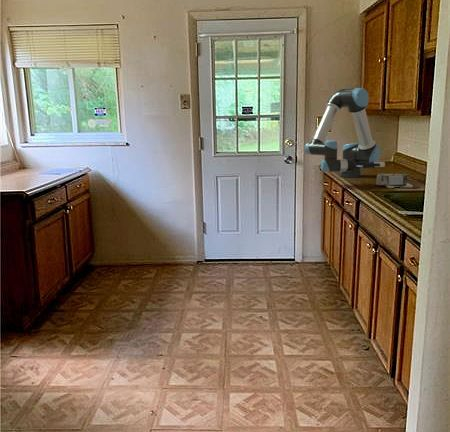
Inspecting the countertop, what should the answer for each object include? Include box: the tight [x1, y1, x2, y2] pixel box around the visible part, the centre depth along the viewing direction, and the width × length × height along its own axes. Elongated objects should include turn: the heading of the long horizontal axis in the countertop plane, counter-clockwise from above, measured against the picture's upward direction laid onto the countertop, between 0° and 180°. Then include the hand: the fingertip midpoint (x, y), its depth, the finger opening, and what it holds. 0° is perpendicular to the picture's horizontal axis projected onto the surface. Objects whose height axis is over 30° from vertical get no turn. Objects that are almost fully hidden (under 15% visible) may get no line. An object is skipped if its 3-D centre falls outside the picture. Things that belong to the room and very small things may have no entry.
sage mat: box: [383, 182, 414, 189], centre depth 285 cm, size 19×14×1 cm
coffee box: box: [375, 172, 408, 188], centre depth 279 cm, size 9×6×16 cm
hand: (384, 164), depth 282 cm, fingers closed
